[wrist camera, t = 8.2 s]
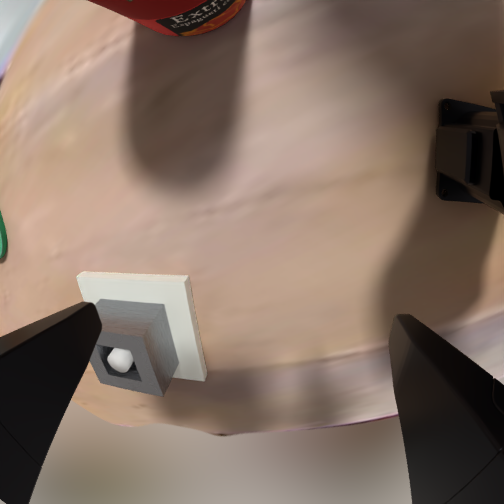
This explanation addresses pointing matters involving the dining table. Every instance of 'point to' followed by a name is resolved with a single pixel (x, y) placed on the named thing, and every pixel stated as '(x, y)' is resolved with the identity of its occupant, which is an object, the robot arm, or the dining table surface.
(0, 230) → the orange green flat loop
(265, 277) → the dining table surface
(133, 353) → the square hole block
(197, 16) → the canned food
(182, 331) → the post block
